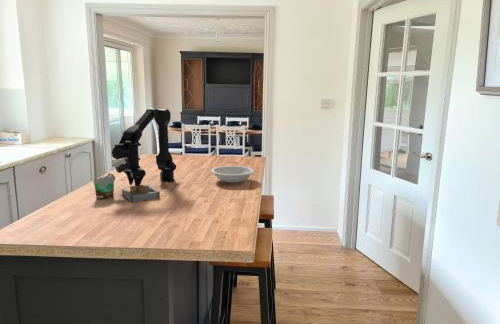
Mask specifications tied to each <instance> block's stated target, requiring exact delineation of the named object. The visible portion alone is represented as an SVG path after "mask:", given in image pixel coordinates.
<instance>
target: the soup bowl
mask: <svg viewBox="0 0 500 324" xmlns="http://www.w3.org/2000/svg"><path fill="white" fill-rule="evenodd" d="M211 173H213V174H214V175H215V177H216V179H219V180H220V181H222V182H225V183H232V184H233V183H241V182H245V181H246V180H248V179H249V178H250V177H251V175H252V174H254V173H255V170H254V169H253V168H251V167H248V166H242V165H224V166H216V167H213V168H212V169H211Z"/></svg>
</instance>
